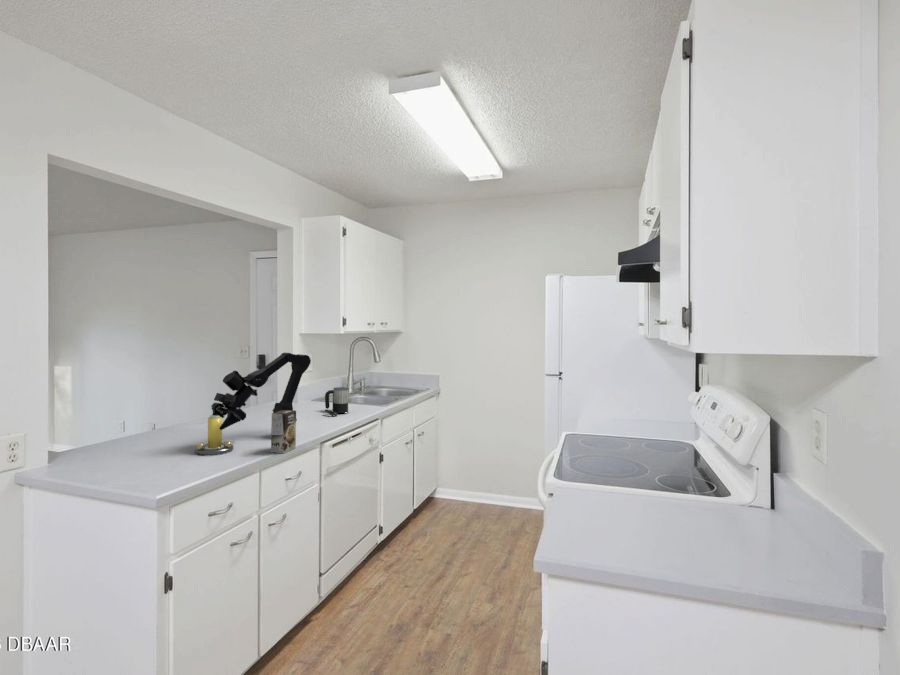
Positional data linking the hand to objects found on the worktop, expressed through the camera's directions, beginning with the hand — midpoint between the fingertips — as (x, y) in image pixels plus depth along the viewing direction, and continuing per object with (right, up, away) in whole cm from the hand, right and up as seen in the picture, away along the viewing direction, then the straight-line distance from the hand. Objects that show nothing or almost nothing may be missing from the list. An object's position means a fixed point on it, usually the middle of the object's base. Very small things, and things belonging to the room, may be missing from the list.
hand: (214, 427), depth 194 cm
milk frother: (+30, -8, +83) cm, 89 cm away
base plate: (0, -9, 0) cm, 10 cm away
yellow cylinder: (0, -8, 0) cm, 8 cm away
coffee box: (+27, -10, +3) cm, 29 cm away
